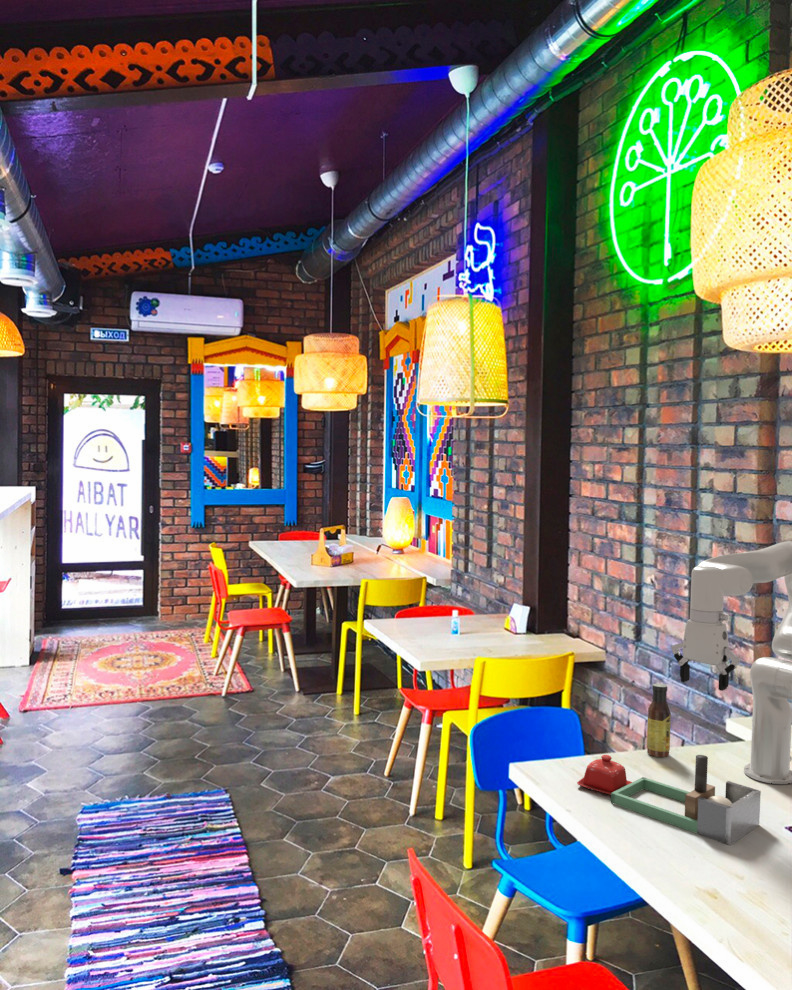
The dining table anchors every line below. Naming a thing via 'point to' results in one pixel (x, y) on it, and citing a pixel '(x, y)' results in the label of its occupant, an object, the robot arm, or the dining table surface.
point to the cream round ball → (720, 800)
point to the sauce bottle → (658, 723)
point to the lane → (625, 801)
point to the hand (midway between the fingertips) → (703, 685)
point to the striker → (698, 788)
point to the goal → (729, 814)
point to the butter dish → (604, 775)
